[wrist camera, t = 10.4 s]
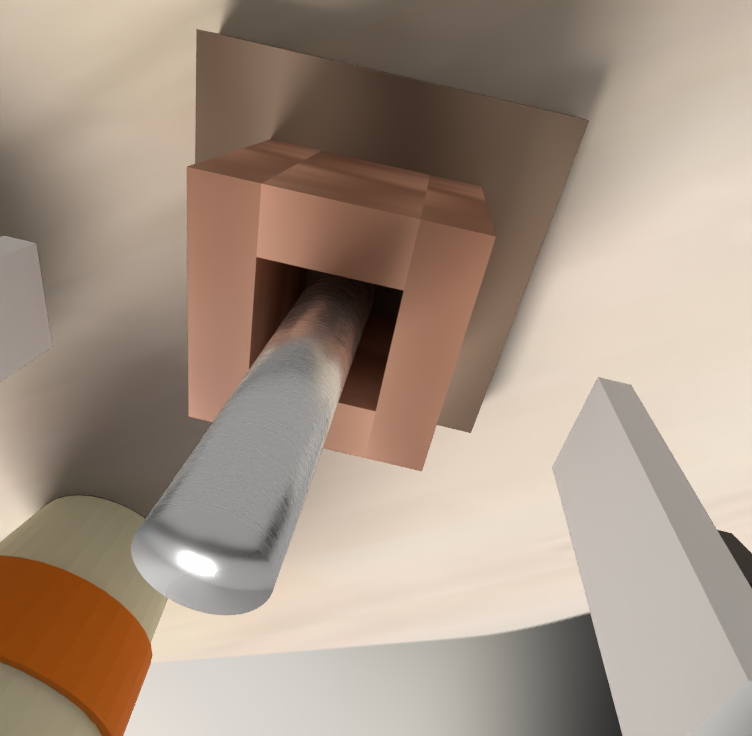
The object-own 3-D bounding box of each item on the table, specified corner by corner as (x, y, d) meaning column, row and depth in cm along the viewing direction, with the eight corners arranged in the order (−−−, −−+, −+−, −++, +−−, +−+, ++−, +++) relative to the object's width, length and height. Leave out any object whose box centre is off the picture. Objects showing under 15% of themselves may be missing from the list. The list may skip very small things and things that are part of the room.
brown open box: (256, 329, 20) (188, 416, 15) (270, 139, 16) (186, 166, 11) (429, 368, 20) (421, 471, 15) (481, 186, 16) (495, 236, 11)
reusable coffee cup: (241, 604, 32) (98, 962, 19) (86, 621, 35) (-125, 935, 22) (136, 453, 26) (-166, 812, 13) (-36, 489, 30) (-409, 805, 17)
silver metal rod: (325, 284, 18) (135, 595, 7) (333, 231, 17) (127, 499, 6) (378, 296, 18) (267, 628, 7) (389, 244, 17) (281, 537, 6)
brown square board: (209, 348, 22) (193, 366, 21) (218, 33, 16) (196, 29, 15) (469, 411, 22) (470, 432, 21) (576, 117, 16) (588, 120, 15)
